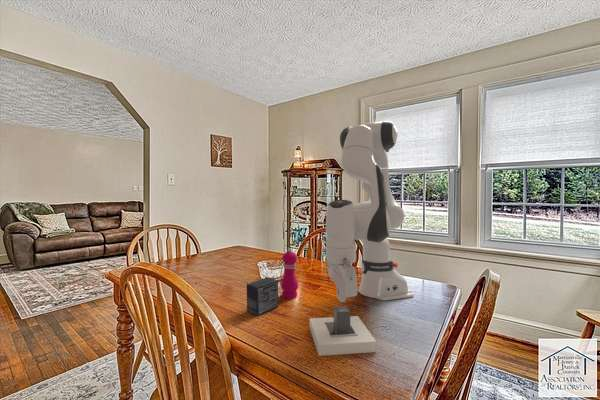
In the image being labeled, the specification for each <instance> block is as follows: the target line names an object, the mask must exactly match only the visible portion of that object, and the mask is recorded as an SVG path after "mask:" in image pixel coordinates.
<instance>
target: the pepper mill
mask: <svg viewBox="0 0 600 400" xmlns="http://www.w3.org/2000/svg"><path fill="white" fill-rule="evenodd" d="M281 259H282V262H283V269H284V275H283V278H282V280H281V283H280V289H281V290H282V291H281V297H282V298H283V299H285V300H286V299H288V300H290V299H291V300H292V299H296V298H297V297H298V289H299V281H298V278H297V276H296V273H295V271H296V270H295V269H296V267H297V265H296V264H297V263H296V262H297V260H298V257H297V254H296V253H295V252H293V250H292V248H290V247H288V248H287V252H285V253H283V255H282V258H281Z"/></svg>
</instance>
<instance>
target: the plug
mask: <svg viewBox="0 0 600 400" xmlns="http://www.w3.org/2000/svg"><path fill="white" fill-rule="evenodd" d="M350 316H351V311H350V309H349V307H348V306H345V305H343V306H341V305H340V306H333V317H334V333H333V335H342V334H350Z"/></svg>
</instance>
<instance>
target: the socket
mask: <svg viewBox="0 0 600 400" xmlns="http://www.w3.org/2000/svg"><path fill="white" fill-rule="evenodd" d="M309 330H310V333H311V335H312V340H313V342H314V345H315V349H316V352H317V354H318V355H317V356H319V357H321V356H337V355H338V356H339V355H353V354H366V353H367V354H368V353H377V340H376V339H375V337H374V336H373V335H372V333H371V332H370V331H369V329H368V328H367V327H366V324H364V322H363V320H361V318H360V317H359V316H358V315H353V316H352V315H350V334H342V335H334V316H333V317H331V316H330V317H313V318H312V317H311V318H309Z"/></svg>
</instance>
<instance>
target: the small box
mask: <svg viewBox="0 0 600 400" xmlns="http://www.w3.org/2000/svg"><path fill="white" fill-rule="evenodd" d="M278 282H279V279H275V278H271V277H264V278H261V279H258V280H254V281H252V282H248V283H246V312H247V313H249V314H251V315H254V316H257V317H259V316H263V315H264V314H266V313H268V312H270V311H273V310H275V309H277V308H279V289H278V288H279V286H278V285H279V283H278Z"/></svg>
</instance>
